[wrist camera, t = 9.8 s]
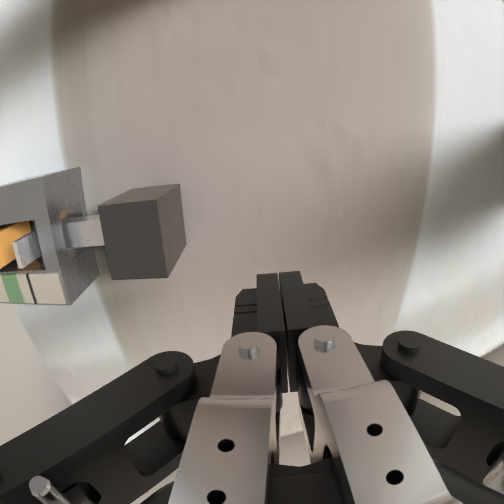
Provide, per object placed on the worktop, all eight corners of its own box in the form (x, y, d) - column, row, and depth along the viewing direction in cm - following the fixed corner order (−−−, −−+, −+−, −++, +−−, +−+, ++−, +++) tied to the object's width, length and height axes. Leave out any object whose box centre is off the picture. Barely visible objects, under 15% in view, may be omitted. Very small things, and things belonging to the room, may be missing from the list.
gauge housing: (80, 167, 24) (34, 178, 17) (99, 275, 27) (65, 311, 21) (6, 183, 24) (-39, 198, 17) (27, 277, 27) (-11, 307, 21)
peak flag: (28, 217, 24) (-20, 242, 17) (34, 246, 25) (-11, 276, 18) (20, 219, 24) (-28, 243, 17) (26, 247, 25) (-19, 276, 18)
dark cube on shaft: (179, 184, 24) (151, 202, 17) (186, 244, 26) (164, 284, 19) (58, 199, 24) (7, 221, 17) (69, 252, 26) (24, 287, 19)
